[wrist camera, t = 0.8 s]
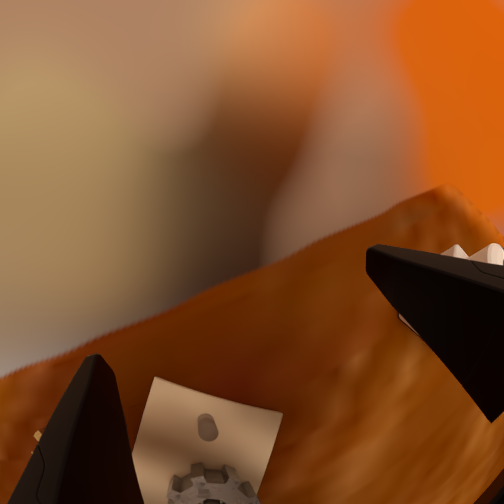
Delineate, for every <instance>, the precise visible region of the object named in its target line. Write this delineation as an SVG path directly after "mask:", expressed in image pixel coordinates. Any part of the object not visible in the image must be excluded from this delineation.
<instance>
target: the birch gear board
mask: <svg viewBox="0 0 504 504" xmlns="http://www.w3.org/2000/svg"><path fill="white" fill-rule="evenodd" d="M282 416H283V413H281V412H279V411H273V410H269V409H264V408H259V407H255V406H251V405H246V404H242V403H238V402H234V401H231V400H227V399H223V398H220V397H216V396H213V395H209V394H206V393H203V392H199V391H196V390H193V389H190V388H187V387H184V386H181V385H178V384H175V383H173V382H170V381H167V380H164V379H162V378H159V377H154V381H153V384H152V387H151V390H150V393H149V397H148V400H147V403H146V407H145V410H144V413H143V417H142V420H141V424H140V427H139V431H138V434H137V438H136V442H135V445H134V449H133V453H132V458H133V462H134V467H135V471H136V475H137V479H138V483H139V486H140V490H141V494H142V497H143V500H144V504H168V498H166V496H167V491H168V486H169V482H170V480H171V479H172V477H173V476H174V474H175V475H177V476H179V477H181V478H182V477H184V476H186V475H187V474H189V473H191V464H195V463H200V462H202V463H203V465H204V468H205V469H216V470H221V468H222V467H223V465H224V464H225V465H228V466H230V467H233V468H235V470H236V472H237V474H238V476H239V478H240V480H241V483H243V482H246V481H249V482H250V484H251V486H252V487H253V489H254V491H255V493H256V494H257V492H258V490H259V487H260V484H261V481H262V478H263V476H264V473H265V470H266V467H267V464H268V461H269V458H270V455H271V452H272V449H273V445H274V442H275V439H276V436H277V432H278V429H279V426H280V422H281V419H282ZM223 502H224V501H223V500H217V499H206V500H204V501H202V502H200V503H201V504H221V503H223Z"/></svg>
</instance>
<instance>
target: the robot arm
mask: <svg viewBox="0 0 504 504" xmlns="http://www.w3.org/2000/svg"><path fill="white" fill-rule="evenodd" d="M366 272H367V274H368V276H369V277H370V278H371V280H372V281H373V282H374V283H375V285H376V286H377V287H378V288H379V290H380V291H381V292H382V293H383V295H384V296H385V297H386V299H387V300H388V301H389V302H390V304H391V305H392V306H393V307H394V308H395V309H396V311H397V312H398V313H399V314H400V315H401V316H402V317H403V318H404V319H405V320H406V321H407V322H408V323H409V325H410V326H411V327H412V328H413V329H414V330H415V331H416V332H417V333H418V334H419V336H420V337H421V338H422V339H423V340H424V341H425V342H426V343H427V345H428V346H429V347H430V348H431V349H432V350H433V351H434V353H435V354H436V355H437V356H438V357H439V358H440V360H441V361H442V362H443V363H444V364H445V366H446V367H447V368H448V369H449V370H450V372H451V373H452V374H453V375H454V376H455V378H456V379H457V380H458V381H459V383H460V384H461V385H462V386H463V388H464V389H465V390H466V392H467V393H468V394H469V395H470V397H471V398H472V399H473V400H474V402H475V403H476V404H477V406H478V407H479V408H480V410H481V411H482V412H483V414H484V415H485V416H486V418H487V419H488V420H489V421H490V422H491V423H492V422H493V421H494V420H496V419H497V418H498V417H499V416H500V415H501V414H502V413H503V412H504V265H498V264H491V263H485V262H479V261H474V260H468V259H463V258H458V257H452V256H447V255H441V254H435V253H430V252H424V251H418V250H412V249H406V248H400V247H393V246H387V245H381V244H375V245H373V246H371V247H369V248H368V249H367V251H366ZM7 504H144V500H143V497H142V494H141V490H140V486H139V483H138V479H137V475H136V471H135V467H134V462H133V458H132V453H131V448H130V443H129V438H128V432H127V426H126V421H125V416H124V412H123V408H122V404H121V400H120V396H119V391H118V387H117V382H116V377H115V374H114V372H113V370H112V369H111V368H110V366H109V365H108V364H107V363H106V361H105V360H104V359H103V358H102V356H101V355H100V354H98V353H95V354H92V355H89V356H87V357H86V358H85V359H84V361H83V363H82V364H81V366H80V368H79V369H78V371H77V372H76V374H75V376H74V377H73V379H72V381H71V382H70V384H69V386H68V388H67V389H66V391H65V393H64V395H63V396H62V398H61V400H60V402H59V403H58V405H57V407H56V409H55V411H54V412H53V414H52V416H51V418H50V420H49V422H48V424H47V426H46V428H45V430H44V432H43V433H42V435H41V437H40V439H39V442H38V444H37V445H36V448H35V450H34V452H33V454H32V456H31V458H30V460H29V462H28V464H27V466H26V468H25V470H24V472H23V474H22V476H21V478H20V480H19V482H18V483H17V485H16V487H15V489H14V491H13V493H12V495H11V497H10V499H9V501H8V503H7ZM473 504H504V469H503V470H502V471H501V472H500V474H499V475H498V476H497V477H496V479H495V480H494V481H493V482H492V484H491V485H490V486H489V487H488V488H487V489H486V490H485V492H484V493H483V494H482V495H481V496H480V497H479V498H478V499H477V500H476V501H475V502H474V503H473Z"/></svg>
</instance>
